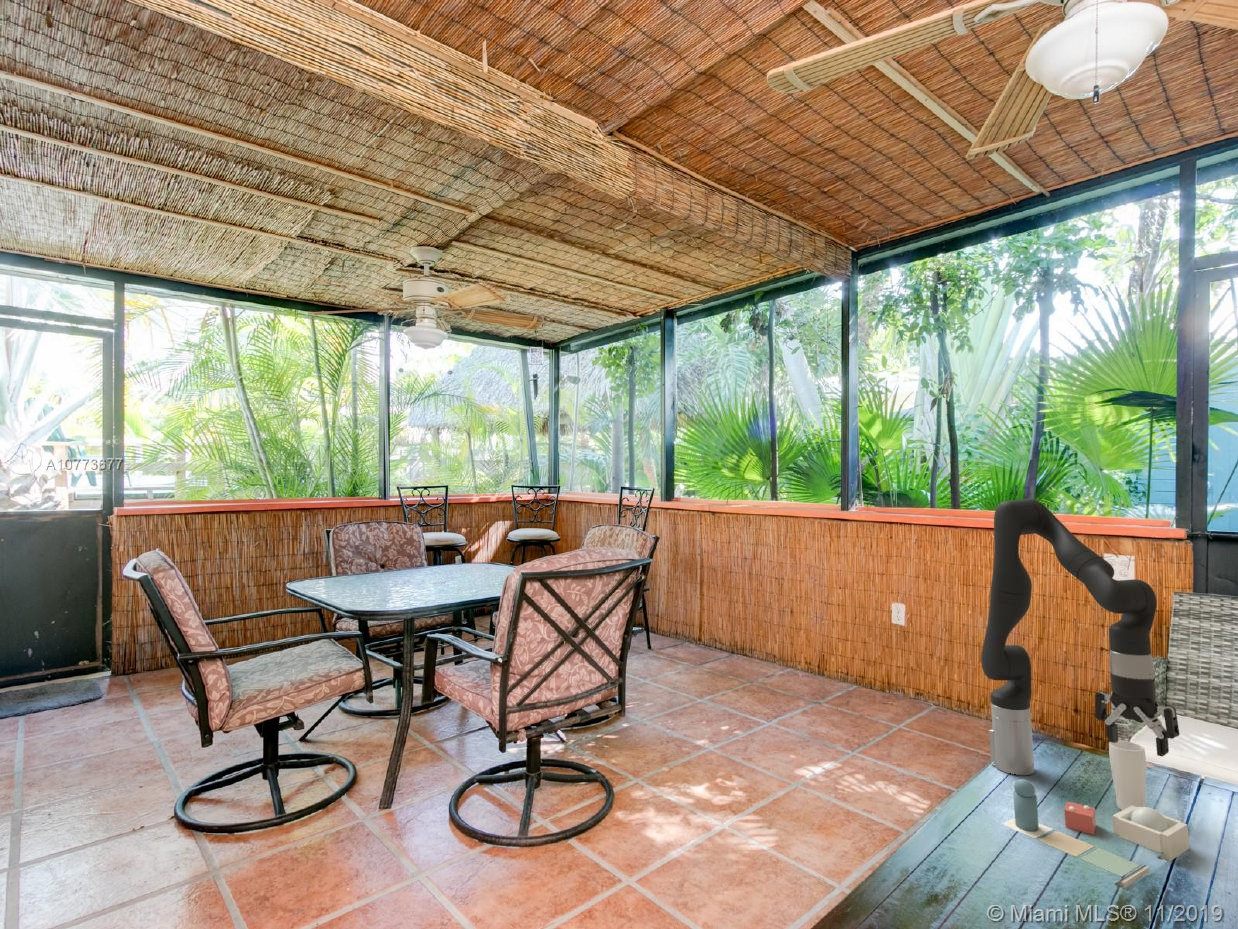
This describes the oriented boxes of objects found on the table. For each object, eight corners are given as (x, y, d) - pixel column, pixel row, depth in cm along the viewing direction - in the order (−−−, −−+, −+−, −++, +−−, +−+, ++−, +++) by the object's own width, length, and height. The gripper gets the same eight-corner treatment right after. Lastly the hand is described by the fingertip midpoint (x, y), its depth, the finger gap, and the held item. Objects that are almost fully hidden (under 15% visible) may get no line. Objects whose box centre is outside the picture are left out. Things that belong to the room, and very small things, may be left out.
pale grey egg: (1127, 839, 136) (1124, 806, 136) (1140, 831, 139) (1138, 799, 139) (1161, 853, 131) (1158, 818, 131) (1174, 844, 134) (1172, 810, 134)
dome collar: (1112, 840, 137) (1110, 816, 137) (1135, 827, 141) (1133, 804, 142) (1168, 862, 128) (1166, 837, 128) (1190, 848, 133) (1188, 823, 133)
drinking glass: (1136, 803, 152) (1131, 740, 153) (1157, 817, 145) (1152, 751, 146) (1106, 803, 152) (1101, 739, 153) (1125, 817, 146) (1121, 751, 147)
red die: (1066, 833, 140) (1064, 807, 140) (1069, 824, 144) (1067, 798, 144) (1094, 840, 137) (1092, 814, 137) (1096, 831, 140) (1094, 805, 141)
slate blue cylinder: (1011, 825, 142) (1008, 778, 142) (1022, 819, 144) (1019, 774, 144) (1031, 833, 138) (1028, 786, 138) (1043, 828, 140) (1039, 781, 140)
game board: (993, 829, 142) (993, 823, 142) (1019, 817, 147) (1019, 812, 147) (1123, 888, 120) (1123, 881, 120) (1149, 872, 125) (1148, 865, 125)
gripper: (1085, 668, 141) (1091, 741, 141) (1164, 683, 129) (1170, 764, 128) (1102, 662, 145) (1108, 734, 144) (1180, 677, 133) (1186, 756, 132)
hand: (1137, 748), depth 136 cm, fingers open, 8 cm apart
